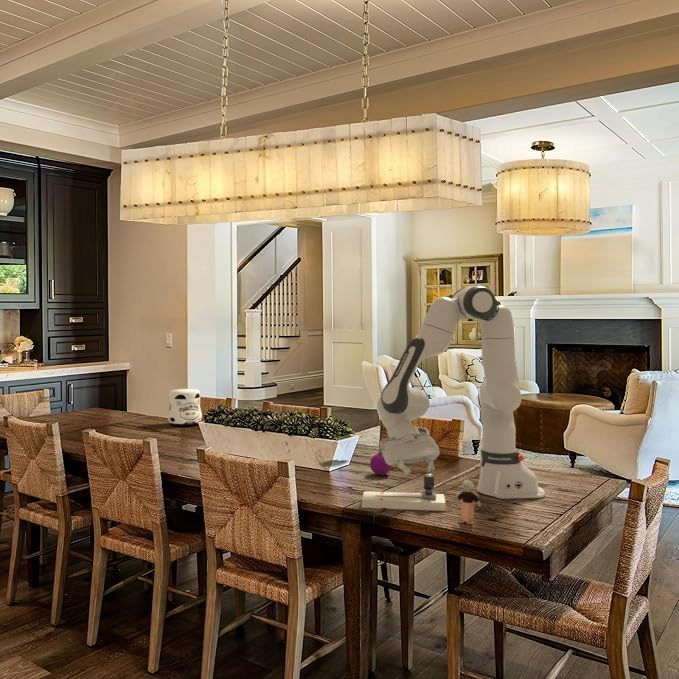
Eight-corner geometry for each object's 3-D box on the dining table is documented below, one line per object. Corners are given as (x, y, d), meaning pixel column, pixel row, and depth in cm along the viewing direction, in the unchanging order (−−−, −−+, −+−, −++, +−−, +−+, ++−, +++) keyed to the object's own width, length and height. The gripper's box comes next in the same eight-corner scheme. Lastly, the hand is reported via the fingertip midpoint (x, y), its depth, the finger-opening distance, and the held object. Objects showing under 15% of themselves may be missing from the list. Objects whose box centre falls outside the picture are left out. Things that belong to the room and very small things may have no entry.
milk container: (189, 428, 352) (189, 393, 351) (161, 426, 358) (161, 391, 357) (208, 423, 368) (208, 389, 367) (180, 421, 374) (180, 387, 373)
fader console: (443, 501, 224) (444, 493, 224) (445, 510, 214) (445, 502, 214) (363, 498, 227) (364, 491, 227) (361, 507, 217) (361, 499, 217)
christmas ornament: (374, 471, 265) (375, 445, 264) (394, 473, 261) (395, 447, 261) (366, 475, 257) (366, 449, 257) (386, 478, 254) (387, 451, 253)
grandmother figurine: (453, 523, 202) (454, 480, 202) (456, 519, 206) (456, 477, 205) (479, 526, 200) (480, 483, 199) (482, 522, 203) (482, 479, 203)
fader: (435, 495, 222) (435, 473, 221) (436, 498, 217) (436, 476, 217) (421, 494, 222) (422, 472, 222) (422, 498, 218) (422, 476, 217)
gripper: (381, 433, 224) (397, 470, 216) (431, 428, 234) (449, 463, 226) (373, 445, 228) (389, 481, 220) (423, 439, 238) (440, 473, 230)
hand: (420, 472), depth 223 cm, fingers open, 8 cm apart
